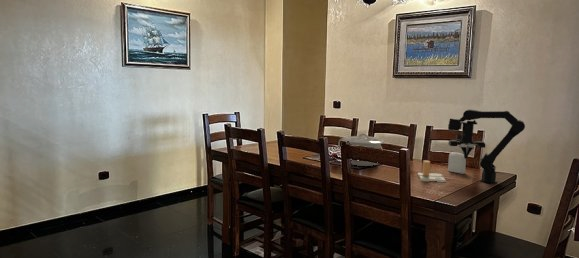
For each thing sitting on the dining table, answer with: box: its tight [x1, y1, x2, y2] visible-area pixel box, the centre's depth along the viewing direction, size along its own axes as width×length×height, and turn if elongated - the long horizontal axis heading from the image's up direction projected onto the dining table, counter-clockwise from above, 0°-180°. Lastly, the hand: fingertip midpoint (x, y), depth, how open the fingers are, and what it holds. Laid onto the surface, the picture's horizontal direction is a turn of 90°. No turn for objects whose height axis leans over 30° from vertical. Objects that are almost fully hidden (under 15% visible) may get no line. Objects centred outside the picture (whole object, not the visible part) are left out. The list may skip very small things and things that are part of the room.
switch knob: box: [422, 159, 431, 176], centre depth 229 cm, size 3×4×9 cm, turn 170°
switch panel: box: [417, 172, 446, 183], centre depth 230 cm, size 13×14×2 cm
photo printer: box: [447, 151, 467, 175], centre depth 246 cm, size 10×4×12 cm, turn 39°
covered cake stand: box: [338, 133, 386, 167], centre depth 261 cm, size 28×28×21 cm
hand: (465, 158), depth 229 cm, fingers closed
